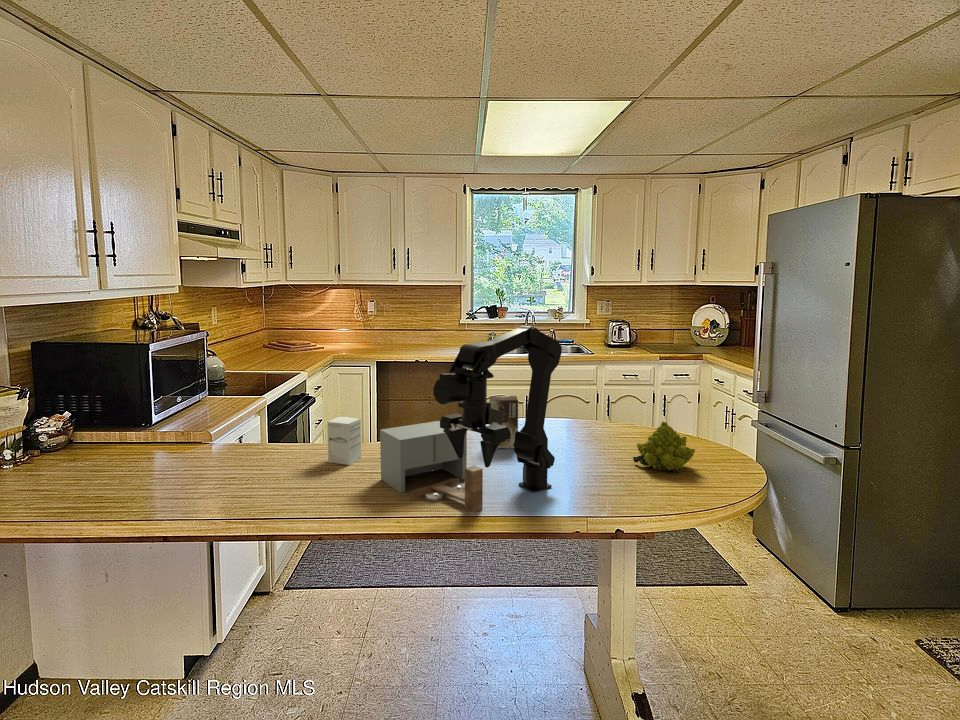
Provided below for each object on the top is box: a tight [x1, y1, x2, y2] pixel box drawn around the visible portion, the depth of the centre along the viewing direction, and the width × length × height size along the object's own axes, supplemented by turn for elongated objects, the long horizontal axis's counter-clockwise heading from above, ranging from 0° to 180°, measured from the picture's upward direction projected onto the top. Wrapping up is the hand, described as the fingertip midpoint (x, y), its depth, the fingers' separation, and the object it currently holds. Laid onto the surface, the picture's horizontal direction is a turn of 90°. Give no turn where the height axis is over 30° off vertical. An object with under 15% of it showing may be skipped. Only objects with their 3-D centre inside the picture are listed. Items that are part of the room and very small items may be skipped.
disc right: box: [449, 482, 465, 493], centre depth 160 cm, size 4×4×2 cm
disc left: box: [424, 490, 443, 503], centre depth 155 cm, size 4×4×2 cm
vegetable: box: [632, 421, 696, 473], centre depth 179 cm, size 15×16×15 cm
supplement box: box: [327, 416, 362, 466], centre depth 183 cm, size 7×7×13 cm
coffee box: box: [488, 395, 519, 449], centre depth 200 cm, size 9×6×16 cm
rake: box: [410, 465, 484, 513], centre depth 153 cm, size 16×15×10 cm
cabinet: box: [379, 420, 468, 494], centre depth 168 cm, size 12×20×14 cm, turn 124°
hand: (473, 462), depth 147 cm, fingers open, 9 cm apart
